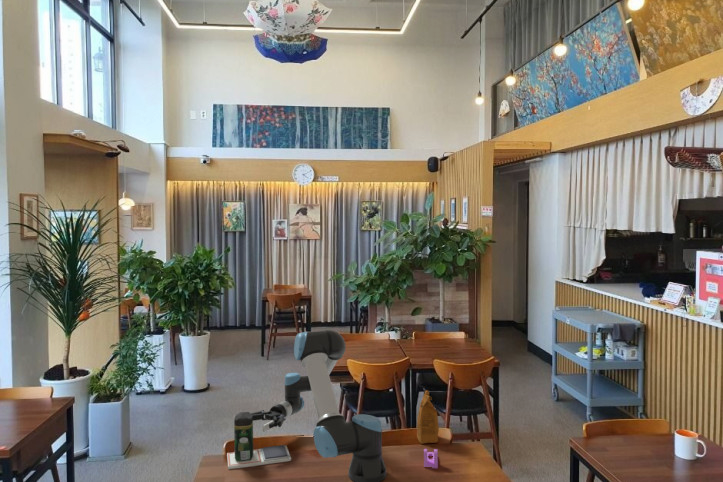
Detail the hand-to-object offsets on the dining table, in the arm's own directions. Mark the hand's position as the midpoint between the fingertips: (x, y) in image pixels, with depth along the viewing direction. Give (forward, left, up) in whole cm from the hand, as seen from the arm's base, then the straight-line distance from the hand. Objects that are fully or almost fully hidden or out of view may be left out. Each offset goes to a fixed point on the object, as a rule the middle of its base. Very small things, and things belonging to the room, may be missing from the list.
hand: (251, 426), depth 221 cm
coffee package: (-8, -81, -13) cm, 82 cm away
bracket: (-30, -72, -13) cm, 79 cm away
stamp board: (-4, -3, -13) cm, 14 cm away
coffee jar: (-3, +3, -12) cm, 13 cm away
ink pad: (-4, -10, -12) cm, 16 cm away
